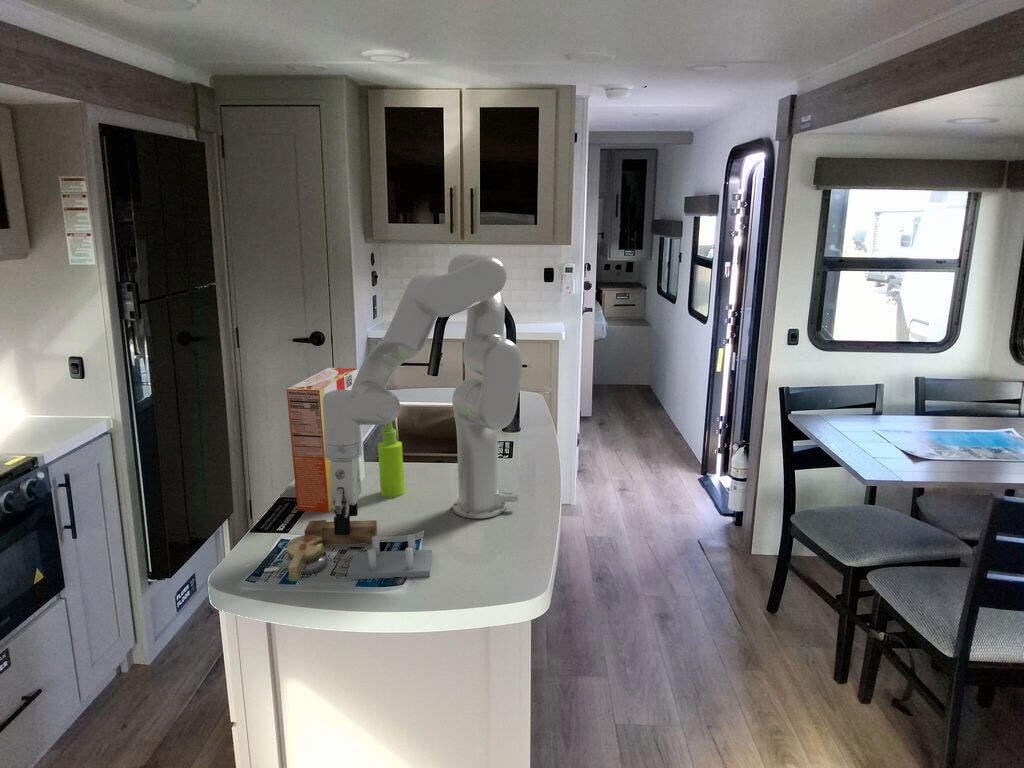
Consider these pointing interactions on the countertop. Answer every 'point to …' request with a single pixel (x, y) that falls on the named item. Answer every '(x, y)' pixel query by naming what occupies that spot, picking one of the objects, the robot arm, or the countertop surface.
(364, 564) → the rack
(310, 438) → the orange cereal box
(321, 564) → the base
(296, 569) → the gold lever handle
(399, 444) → the soap dispenser
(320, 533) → the tan wooden bar
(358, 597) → the countertop surface
